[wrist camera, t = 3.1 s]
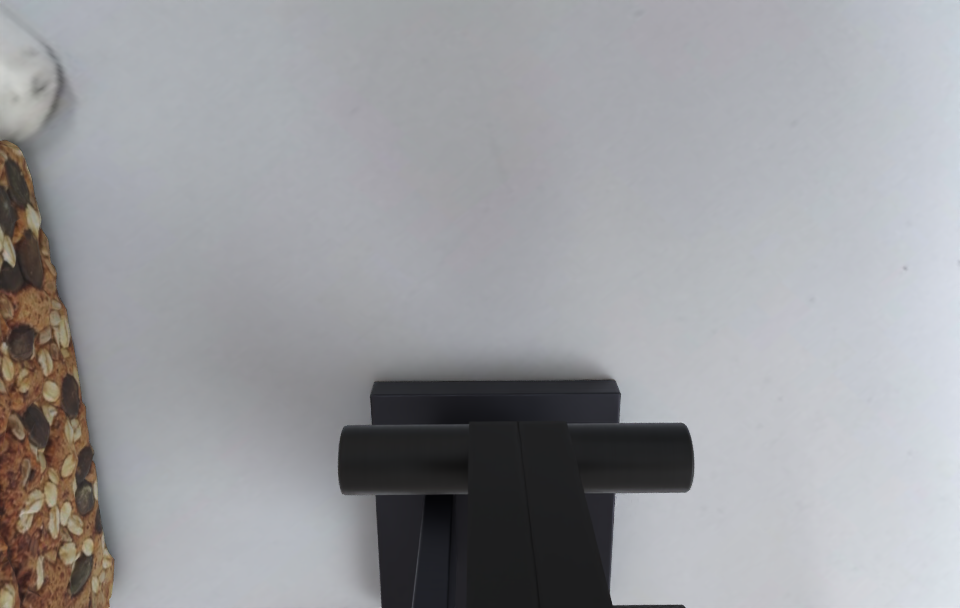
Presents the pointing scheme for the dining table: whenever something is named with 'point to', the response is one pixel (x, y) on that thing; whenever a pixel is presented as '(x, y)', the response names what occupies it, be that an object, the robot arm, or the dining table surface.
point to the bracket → (444, 517)
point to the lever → (445, 448)
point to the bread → (42, 424)
